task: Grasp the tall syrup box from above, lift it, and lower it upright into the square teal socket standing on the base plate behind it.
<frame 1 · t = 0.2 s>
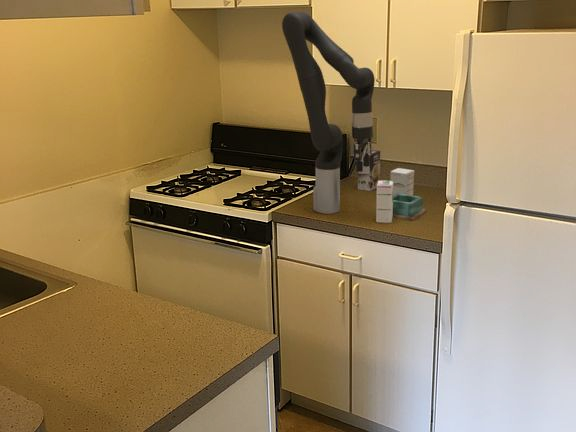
hand: (363, 168, 235), 18 cm above the worktop, tool pointing down, fingers open, 8 cm apart
supplement box: (401, 201, 260), on the worktop
socket collar: (403, 213, 243), on the worktop
coffee box: (368, 188, 279), on the worktop
syrup box: (384, 220, 236), on the worktop
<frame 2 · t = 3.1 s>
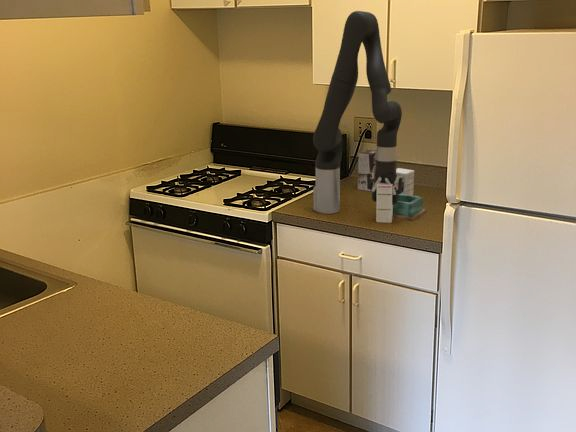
hand: (384, 202, 233), 7 cm above the worktop, tool pointing down, fingers closed on syrup box, 7 cm apart
syrup box: (384, 220, 236), on the worktop, touching gripper
everything else where it was.
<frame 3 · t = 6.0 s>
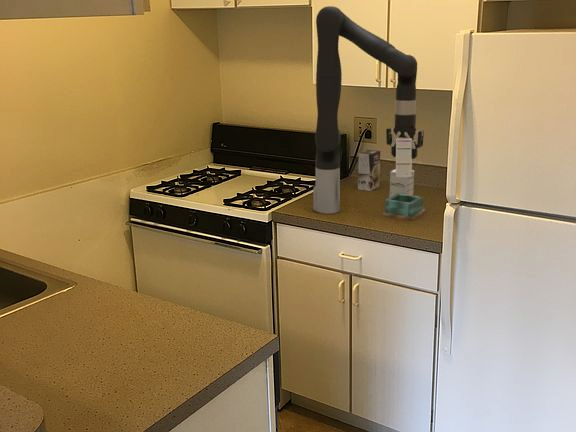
hand: (404, 157, 235), 22 cm above the worktop, tool pointing down, fingers closed on syrup box, 7 cm apart
syrup box: (403, 176, 237), point 15 cm above the worktop, touching gripper
everything else where it was.
when the fingers open (9 cm above the worktop, at t = 9.1 s): syrup box drops 1 cm, resting on socket collar.
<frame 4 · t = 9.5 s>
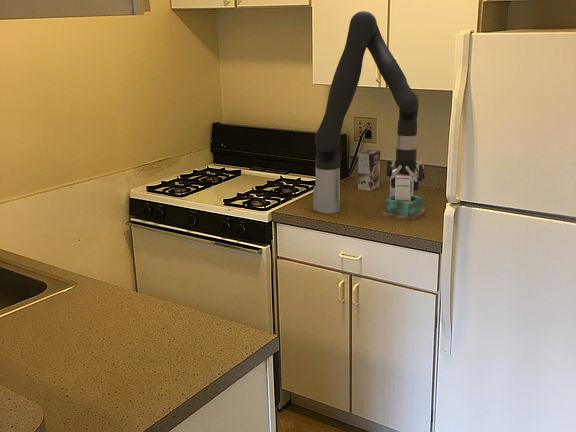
hand: (404, 189, 240), 10 cm above the worktop, tool pointing down, fingers open, 8 cm apart
syrup box: (402, 211, 243), point 1 cm above the worktop, touching socket collar
everything else where it was.
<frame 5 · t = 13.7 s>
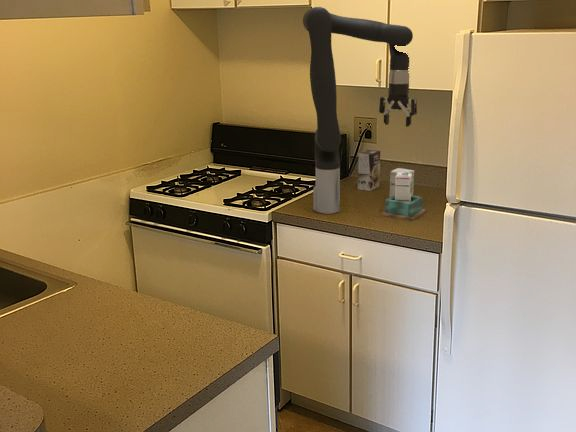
hand: (397, 125, 242), 32 cm above the worktop, tool pointing down, fingers open, 8 cm apart
nothing on the worktop moved.
at the end: syrup box 0.5 cm off-centre on the socket collar, point 0.8 cm above the socket collar's base; syrup box tilted 0°; the gripper is holding nothing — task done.
